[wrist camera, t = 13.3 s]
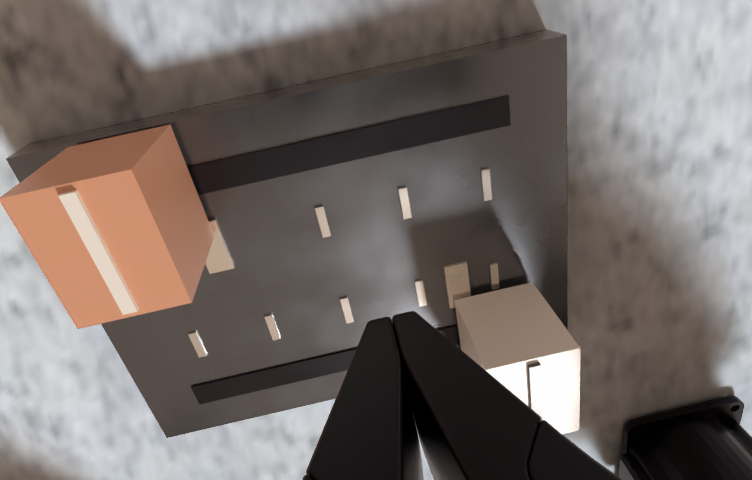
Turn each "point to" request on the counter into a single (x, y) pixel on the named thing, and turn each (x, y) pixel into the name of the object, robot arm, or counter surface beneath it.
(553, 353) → the block
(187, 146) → the mixer panel
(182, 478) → the counter surface
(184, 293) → the fader
